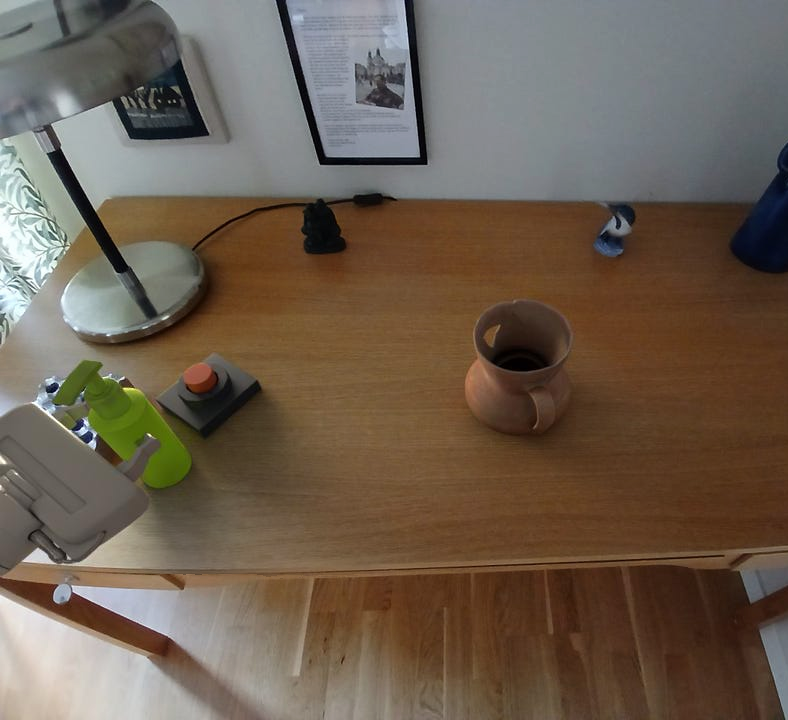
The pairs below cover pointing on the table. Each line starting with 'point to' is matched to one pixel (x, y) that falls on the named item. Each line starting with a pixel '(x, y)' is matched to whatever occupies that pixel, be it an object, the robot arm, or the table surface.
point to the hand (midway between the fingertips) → (128, 418)
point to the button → (200, 378)
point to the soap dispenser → (126, 422)
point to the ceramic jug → (520, 368)
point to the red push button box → (210, 397)
